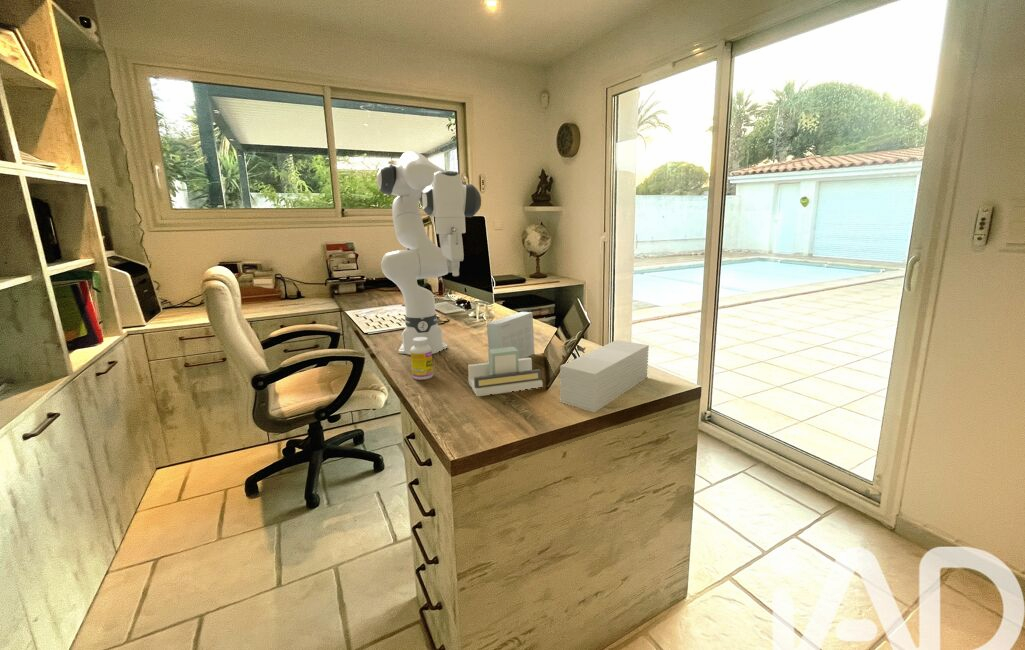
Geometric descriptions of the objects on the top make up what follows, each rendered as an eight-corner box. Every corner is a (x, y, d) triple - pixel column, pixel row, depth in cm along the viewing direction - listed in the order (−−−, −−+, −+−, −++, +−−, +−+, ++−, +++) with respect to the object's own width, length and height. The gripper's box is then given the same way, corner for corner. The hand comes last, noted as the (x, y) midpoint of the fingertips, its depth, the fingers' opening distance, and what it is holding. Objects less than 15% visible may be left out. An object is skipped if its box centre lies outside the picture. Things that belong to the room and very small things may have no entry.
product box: (514, 374, 137) (513, 346, 134) (518, 379, 132) (518, 350, 130) (489, 377, 134) (488, 349, 132) (493, 382, 130) (492, 353, 128)
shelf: (468, 382, 137) (467, 363, 135) (529, 374, 142) (529, 356, 141) (476, 396, 125) (475, 376, 124) (542, 387, 131) (542, 368, 129)
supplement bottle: (428, 381, 139) (425, 341, 136) (409, 380, 140) (405, 341, 137) (436, 373, 145) (433, 336, 142) (417, 372, 146) (414, 335, 143)
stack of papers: (594, 413, 113) (595, 373, 111) (560, 403, 120) (560, 365, 118) (647, 378, 137) (648, 345, 134) (615, 371, 144) (616, 339, 141)
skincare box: (522, 352, 167) (522, 310, 163) (534, 354, 163) (534, 312, 160) (487, 367, 150) (486, 322, 146) (500, 370, 147) (499, 324, 143)
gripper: (467, 227, 122) (470, 277, 125) (455, 227, 141) (457, 270, 144) (444, 228, 120) (447, 278, 123) (435, 227, 139) (438, 271, 142)
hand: (453, 274), depth 134 cm, fingers open, 8 cm apart
